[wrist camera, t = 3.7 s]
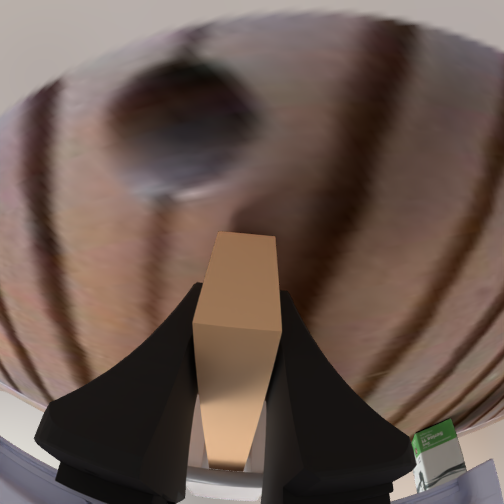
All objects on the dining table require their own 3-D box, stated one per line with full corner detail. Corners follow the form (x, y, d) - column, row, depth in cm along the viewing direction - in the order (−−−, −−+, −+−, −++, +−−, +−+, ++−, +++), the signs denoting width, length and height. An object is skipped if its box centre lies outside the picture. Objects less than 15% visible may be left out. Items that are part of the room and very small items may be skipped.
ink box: (413, 432, 22) (432, 521, 12) (452, 416, 21) (476, 501, 11) (407, 451, 26) (420, 522, 16) (439, 438, 25) (456, 507, 15)
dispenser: (260, 437, 20) (258, 502, 15) (199, 431, 20) (189, 495, 15) (273, 396, 16) (274, 486, 11) (192, 388, 16) (175, 477, 11)
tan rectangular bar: (246, 411, 17) (243, 471, 13) (216, 408, 17) (209, 468, 13) (275, 236, 10) (281, 331, 6) (218, 231, 10) (192, 322, 6)
